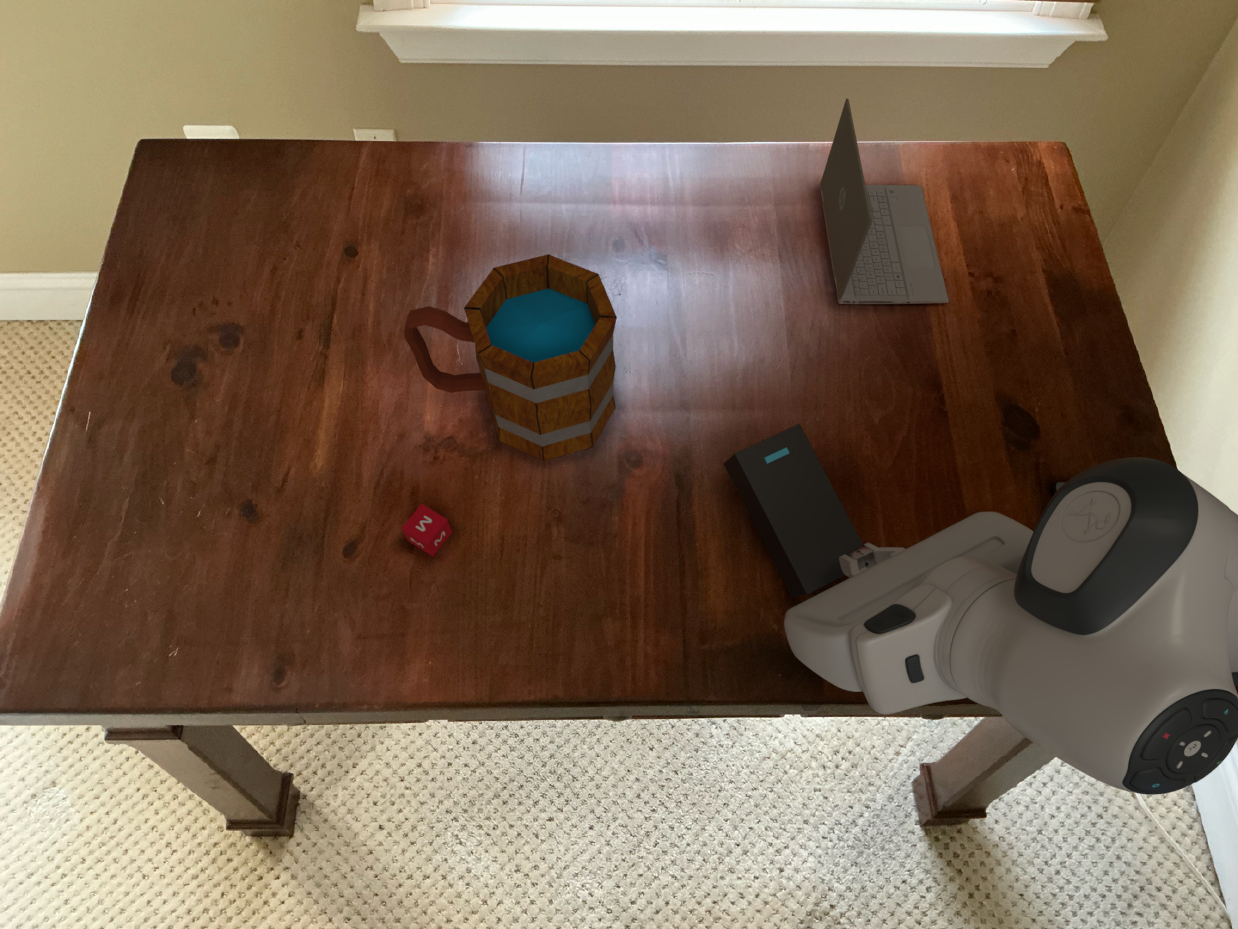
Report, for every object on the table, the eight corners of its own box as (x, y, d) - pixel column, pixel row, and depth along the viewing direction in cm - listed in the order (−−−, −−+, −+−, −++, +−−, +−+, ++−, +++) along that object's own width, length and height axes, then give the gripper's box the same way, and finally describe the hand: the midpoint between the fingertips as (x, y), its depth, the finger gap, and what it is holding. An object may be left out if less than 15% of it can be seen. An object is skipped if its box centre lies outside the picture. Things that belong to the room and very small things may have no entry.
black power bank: (873, 560, 74) (800, 422, 76) (807, 594, 72) (735, 453, 74) (853, 566, 78) (784, 434, 80) (790, 598, 77) (722, 463, 79)
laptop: (947, 306, 93) (995, 221, 81) (835, 305, 93) (868, 220, 81) (919, 189, 101) (960, 97, 90) (817, 188, 101) (844, 96, 89)
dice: (433, 556, 78) (426, 544, 75) (407, 541, 78) (400, 528, 76) (452, 532, 79) (447, 519, 76) (427, 516, 80) (421, 503, 77)
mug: (619, 354, 89) (622, 258, 76) (610, 465, 83) (611, 381, 69) (438, 343, 89) (409, 245, 76) (415, 452, 83) (379, 366, 70)
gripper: (1081, 522, 58) (946, 474, 71) (841, 651, 54) (742, 576, 67) (1092, 597, 60) (959, 538, 73) (861, 727, 56) (762, 640, 69)
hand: (854, 557), depth 70 cm, fingers closed
